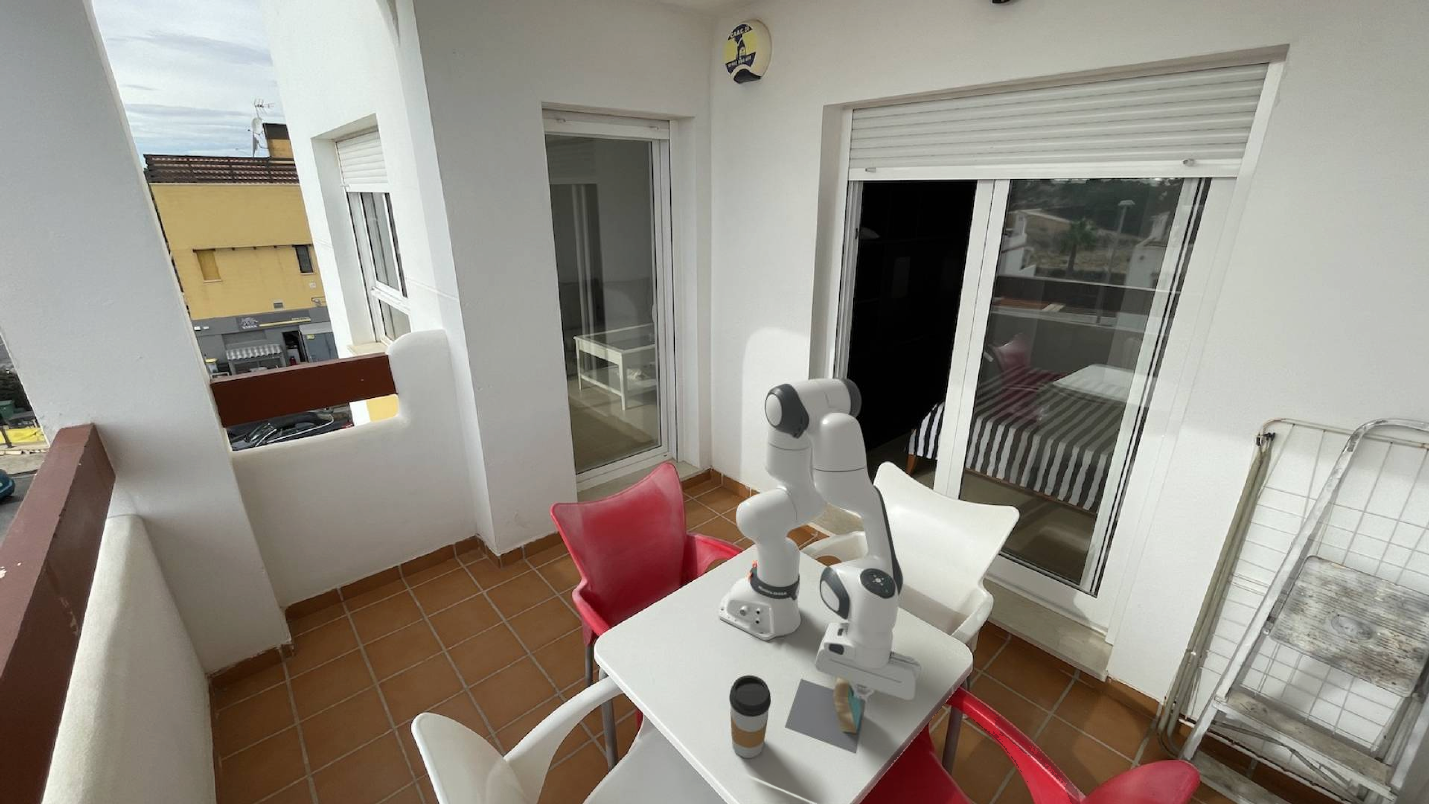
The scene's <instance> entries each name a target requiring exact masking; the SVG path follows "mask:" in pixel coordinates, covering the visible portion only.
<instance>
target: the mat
mask: <svg viewBox="0 0 1429 804" xmlns="http://www.w3.org/2000/svg"><path fill="white" fill-rule="evenodd" d="M796 689H797V690H796V693H795V696H794V699H793V702H792V704H791V708H790V710H789V714H788V716H787V719H786V723H785V726H784V728H786V729H788V730H791V731H794V732H797V733H799V734H802V735H805V736H807V737H810V738H813V739H816V740H818V741H821V742H824V743H827V744H829V745H832V746H835V747H837V748H839V749H843V750H844V751H848V752H851V753H853V754H857V749H858V744H859V739H860V733H861V729H862V723H863V719H864V718H863V717H864V713H865V708H866V707H865V706H866V702H867V701H864V700H861V699H859V703H860V707H861V714H860V719H859V724H858V729H857V732H856V733H854V732H846V731H842V728H841V724H840V721H839V717H838V713H837V709H836V705H835V702H834V698H833V694H834V690H835V689H833V688H829V687H827V686H824V685H820V684H817V683H815V682H812V681H809V680H806V679H803V678H800V680H799V684H798V687H797V688H796Z"/></svg>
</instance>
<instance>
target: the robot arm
mask: <svg viewBox="0 0 1429 804" xmlns="http://www.w3.org/2000/svg"><path fill="white" fill-rule="evenodd" d="M765 397H766V398H765V401H764V411H765V412H764V413H765V417H766V419H767V422H768V423H767V427H766V437H765V448H764V460H763V461H764V462H763V464H764V469H765V470H766V472H767V474H768V475H769V476H770V477H772V478H773V479H775V480H777V481H778V483H777V485H776V488H773V489H770V490H767V491H766V490H765V491H764V492H761V493H757V494H754V495H752V496H750V497H749V498H747V499H745V500H744V501H742V502H741V503H739V505H738V506H737V509H736V514H735V519H736V520H735V521H736V525H737V528H738V529H739V531H740V532H741V534H742V535H743V536H744V537H746V538H747V539H748V540H751V541H753V543H754V544H755V546H756V552H757V554H756V557H757V558H756V559H755V560H753V563H752V564H751V566H752V567H751V569H750V570H749V574H748V576H745V577H740V579H738V580H737V581H736V582H735V583H734V585H732V587H731V589H730V590H729V591H727V592H726V594H725V595H724V596H723V598H722V599H721V601H720V603H719V607H718V612H717V613H718V618H719V619H720V620H722V621H724V622H726V623H728V624H730V625H731V626H734V627H736V628H738V629H740V630H742V631H745V632H746V633H748V634H750V635H753V636H755V637H756V638H758V639H760V640H763V641H769V640H772V639H773V638H775V637H781V636H786V635H790V634H792V633H794V632H795V631H796V630H797V629H798V628H799V627H800V626H801V622H802V617H801V614H800V609H799V599H798V596H799V594H800V589H801V588H800V587H801V577H800V572H799V571H800V560H801V551H800V549H799V546H798V545H797V543H796V542H795V541H794V540H792V538H789V537H787V536H788V534H789V532H790V531H792V530H794V529H797V528H801V527H803V526H807V525H808V524H811V523H813V522H815V520H816V519H818V518H820V517H821V516H822V515H823V514H824V513H825V512H826V508H827V504H829V505H831V506H832V507H835V508H837V509H838V508H839V509H842V510H846V511H849V512H853V513H854V512H855V513H856V514H858V515H859V517H860V518H861V521H862V524H863V525H862V526H863V530H864V535H865V540H866V543H867V553H866V554H865V555H864V556H862V557H859V558H855V559H851V560H848V561H847V560H846V561H843V562H839V563H834V564H832V565H829V566H827V567H824V569H823V571H822V572H821V575H820V579H819V594H820V598H821V600H822V602H823V604H824V605H825V606H826V607H827V608H828V609H829V610H830V611H831V612H834V614H836V615H837V616H838V617H840V618H841V619H843V620H845V621H847V622H830V623H829V624H828V626H827V627H826V628H827V629H826V631H825V634H824V636H823V637H822V639H821V642H820V644H819V647H818V651H817V654H816V657H815V658H816V659H815V661H814V666H815V669H816V670H817V671H818V672H820V673H823V674H827V675H829V676H833V677H836V678H841V679H844V680H847V681H850V686H851V687H852V689H853V691H854V696H853V697H855V698H858V699H861V700H864V701H866V702H868V700H869V697H870V696H871V695H873V694H874V693H875V691H877V692H882V693H884V694H887V695H891V696H893V697H896V698H899V699H902V700H905V701H911V700H913V699H914V698H915V693H916V685H917V683H916V682H917V681H916V680H917V678H919V677H920V675H921V671H922V666H921V664H920V663H919V662H918V661H917V660H915V658H914V657H911V656H907V655H904V654H901V653H899V652H895V651H892V647H893V640H894V634H893V629H894V628H895V626H896V623H897V618H898V610H899V596H900V594H901V592H902V588H903V585H904V575H903V572H902V568H901V565H900V563H899V561H898V559H897V554H896V551H895V546H894V540H893V536H892V532H891V526H890V522H889V517H888V513H887V508H886V504H885V500H884V497H883V494H882V493H881V491H880V489H879V488H878V487H877V486H876V485H875V484H872V481H871V478H870V477H869V473H868V466H867V454H866V446H865V442H864V437H863V436H864V435H863V433H862V428H861V425H860V423H859V420H857V419H856V418H857V416H858V415H859V414H860V412H861V407H862V396H861V392H860V389H859V387H858V386H857V384H856V383H855V382H854V381H852V380H851V379H849V378H845V377H837V376H836V377H832V378H826V377H825V378H824V377H822V378H821V377H820V378H811V379H810V378H809V379H808V380H803V381H802V380H801V381H796V382H791V383H783V384H780V385H777V386H775V387H772V388H771V389H769V391H768V392H767V395H766V396H765ZM811 457H812V459H811ZM811 460H812V476H813V477H811V468H810V467H811ZM860 685H861V686H860ZM862 686H863V687H862ZM865 687H866V688H865Z"/></svg>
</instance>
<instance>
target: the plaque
mask: <svg viewBox="0 0 1429 804" xmlns="http://www.w3.org/2000/svg"><path fill="white" fill-rule="evenodd" d="M836 678H837V679H836V683H835V686H834V689H833V690H834V694H833V698H834V702H835V705H836V709H837V713H838V717H839V721H840V724H841V728H842V731H846V732H854V733H856V732H857V729H858V724H859V719H860V714H861V707H860V703H859V699H858V698H855V697H853V696H854V691H853V689H852V687H851V686H850V681H847V680H844V679H841V678H838V677H836Z"/></svg>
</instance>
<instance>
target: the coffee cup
mask: <svg viewBox="0 0 1429 804" xmlns="http://www.w3.org/2000/svg"><path fill="white" fill-rule="evenodd" d="M728 698H729V703H730V709H729V710H730V734H731V744H732V749H733V751H734V752H735V753H736V754H737V755H738V756H740V757H742V758H744V759H753V758H756V757H758V756H759V755H760V754H761V752H762V751H763V748H764V743H765V742H764V741H765V738H766V732H767V724H768V720H769V719H768V718H769V711H770V707H771V704H772V700H771V698H772V696H771V691H770V689H769V686H768V684H767V683H766V681H764V679H762V678H761V677H758V676H756V675H751V674H750V675H749V674H747V675H743V676H740V677H738V678H737V679H736V680H735V681H734V682H733V684H732V685H731V688H730V689H729V697H728Z"/></svg>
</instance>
